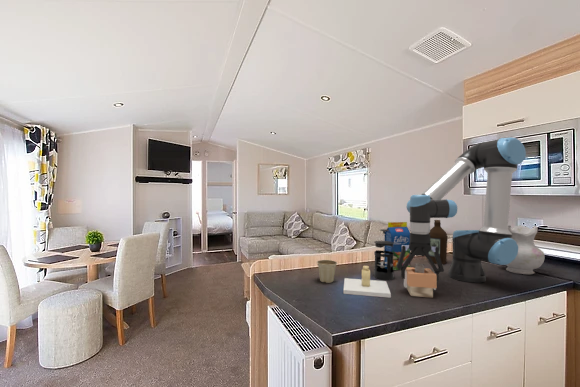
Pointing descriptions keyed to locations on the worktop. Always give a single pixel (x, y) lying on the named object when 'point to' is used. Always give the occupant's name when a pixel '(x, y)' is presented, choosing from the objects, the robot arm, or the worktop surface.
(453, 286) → the worktop surface
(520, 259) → the ceramic pitcher
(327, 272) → the flower pot
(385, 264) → the french press
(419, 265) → the stand
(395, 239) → the blue food package
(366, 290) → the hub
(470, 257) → the robot arm
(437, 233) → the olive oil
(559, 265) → the worktop surface
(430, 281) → the collar
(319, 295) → the worktop surface
